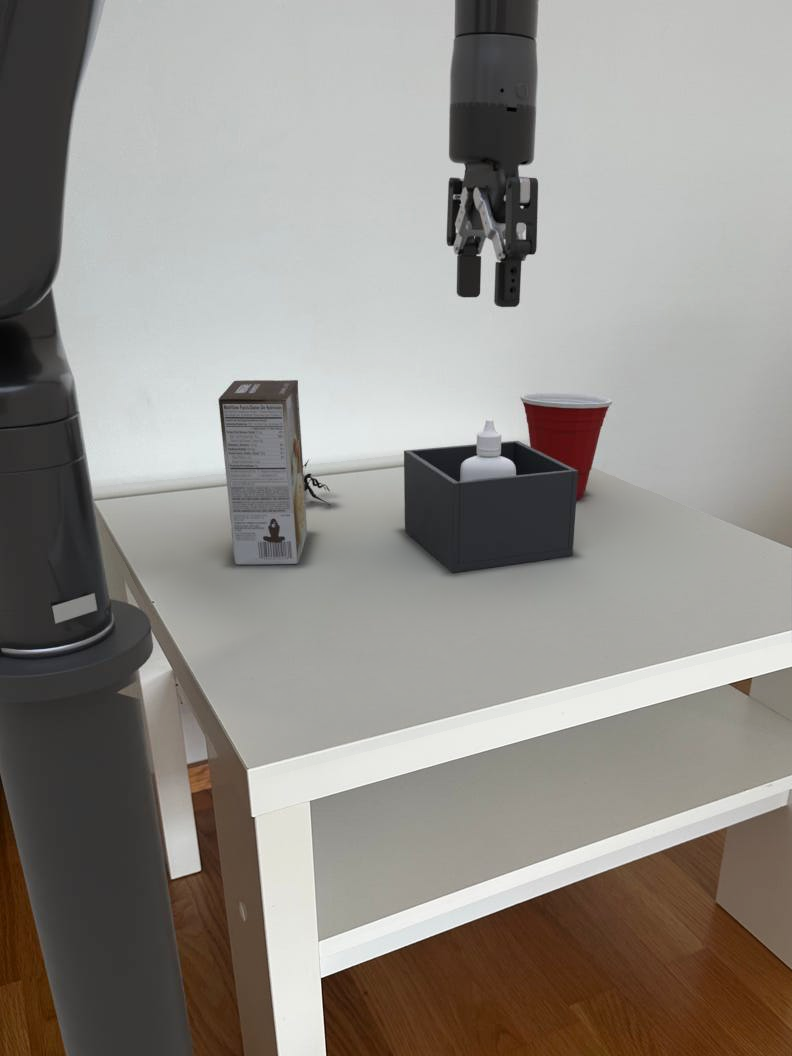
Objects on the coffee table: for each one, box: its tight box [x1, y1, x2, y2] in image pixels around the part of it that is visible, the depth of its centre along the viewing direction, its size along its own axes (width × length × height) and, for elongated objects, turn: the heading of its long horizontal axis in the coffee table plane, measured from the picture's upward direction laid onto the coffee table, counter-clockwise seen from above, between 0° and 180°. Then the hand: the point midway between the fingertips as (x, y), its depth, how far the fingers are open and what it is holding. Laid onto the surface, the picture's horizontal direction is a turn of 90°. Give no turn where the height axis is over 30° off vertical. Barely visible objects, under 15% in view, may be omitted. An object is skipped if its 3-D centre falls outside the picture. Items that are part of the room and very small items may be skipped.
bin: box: [403, 440, 578, 574], centre depth 96 cm, size 13×13×9 cm
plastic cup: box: [519, 392, 613, 501], centre depth 112 cm, size 11×11×12 cm
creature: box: [303, 459, 331, 506], centre depth 108 cm, size 8×5×8 cm
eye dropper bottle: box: [460, 418, 516, 481], centre depth 95 cm, size 4×6×12 cm
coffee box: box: [218, 379, 308, 566], centre depth 91 cm, size 9×6×16 cm
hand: (486, 301), depth 87 cm, fingers open, 8 cm apart
